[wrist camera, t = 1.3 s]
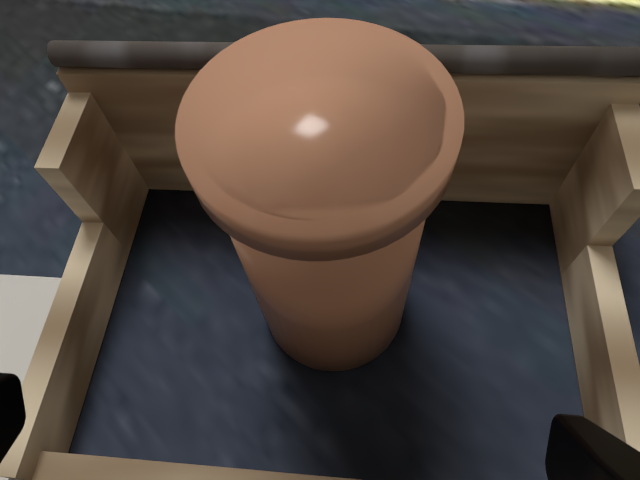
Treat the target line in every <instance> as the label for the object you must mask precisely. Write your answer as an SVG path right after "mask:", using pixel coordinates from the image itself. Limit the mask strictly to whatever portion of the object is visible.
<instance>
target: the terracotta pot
mask: <svg viewBox="0 0 640 480" xmlns="http://www.w3.org/2000/svg"><path fill="white" fill-rule="evenodd" d="M463 133H464V110H463V104H462V99H461V96H460V94H459V91H458V88H457V86H456V84H455V82H454V80H453V79H452V77H451V75H450V74H449V72H448V71H447V70H446V68H445V67H444V66H443V64H442V63H441V62H440V61H439V60H438V59H437V58H436V57H435V56H434V55H433V54H432V53H431V52H429V51H428V50H427V49H425V48H424V47H423V46H421V45H420V44H419V43H417V42H415V41H414V40H412V39H410V38H408V37H407V36H405V35H403V34H400V33H398V32H396V31H394V30H391V29H389V28H385V27H382V26H379V25H376V24H372V23H368V22H363V21H358V20H351V19H341V18H313V19H304V20H296V21H291V22H286V23H282V24H278V25H274V26H271V27H268V28H265V29H262V30H259V31H257V32H255V33H252V34H250V35H248V36H246V37H244V38H242V39H240V40H238V41H236V42H234V43H233V44H231V45H230V46H228V47H227V48H225V49H224V50H222V51H221V52H220V53H218V54H217V55H216V56H215V57H213V58H212V59H211V60H210V61H209V62H208V63H207V64H206V65H205V66H204V67H203V68H202V69H201V70H200V71H199V72H198V74H197V75H196V76H195V78H194V79H193V80H192V82H191V83H190V85H189V87H188V88H187V90H186V92H185V94H184V96H183V98H182V101H181V103H180V106H179V109H178V113H177V118H176V123H175V141H176V148H177V153H178V156H179V159H180V162H181V165H182V167H183V170H184V172H185V174H186V176H187V178H188V180H189V182H190V184H191V186H192V188H193V191H194V193H195V195H196V197H197V199H198V200H199V202H200V204H201V206H202V208H203V209H204V210H205V212H206V213H207V214H208V216H209V217H210V218H211V219H212V220H213V221H214V222H215V223H216V224H217V225H218V226H219V227H220V228H221V229H222V230H223V231H224V232H226V233H227V234H228V235H230V237H231V240H232V242H233V244H234V247H235V249H236V252H237V254H238V256H239V259H240V261H241V263H242V266H243V268H244V270H245V273H246V275H247V277H248V280H249V282H250V285H251V287H252V289H253V292H254V294H255V296H256V299H257V301H258V303H259V306H260V308H261V311H262V313H263V315H264V318H265V320H266V322H267V325H268V327H269V329H270V332H271V334H272V336H273V338H274V339H275V341H276V342H277V344H278V345H279V346H280V348H281V349H282V350H283V351H284V352H285V353H286V354H287V355H289V356H290V357H291V358H292V359H294V360H296V361H297V362H299V363H301V364H303V365H305V366H308V367H310V368H314V369H317V370H323V371H344V370H350V369H354V368H357V367H360V366H362V365H365V364H367V363H368V362H370V361H372V360H374V359H375V358H376V357H378V356H379V355H380V354H381V353H382V352H383V351H384V350H385V349H386V348H387V347H388V346H389V345H390V343H391V342H392V341H393V339H394V337H395V335H396V334H397V332H398V329H399V326H400V323H401V319H402V315H403V311H404V307H405V303H406V299H407V294H408V290H409V286H410V282H411V278H412V274H413V269H414V265H415V261H416V257H417V253H418V249H419V245H420V240H421V236H422V232H423V228H424V224H425V220H426V218H427V217H428V216H429V215H430V214H431V213H432V212H433V210H434V209H435V208H436V206H437V205H438V204H439V203H440V201H441V199H442V198H443V196H444V194H445V192H446V190H447V189H448V186H449V183H450V180H451V178H452V175H453V172H454V168H455V165H456V161H457V158H458V154H459V151H460V147H461V144H462V138H463Z"/></svg>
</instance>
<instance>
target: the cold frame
mask: <svg viewBox="0 0 640 480" xmlns="http://www.w3.org/2000/svg"><path fill="white" fill-rule="evenodd" d="M233 43H234V42H150V41H64V40H52V41H50V42H49V43H48V46H47V54H48V58H49V60H50V62H51V63H52V65H54V66H55V67H59V69H58V71H57V73H56V74H57V76H58V77H59V79H60V80H61V82H62V83H63V85H64V86H65V88H66V89H67V91H68V94H67V96H66V98H65V101H64V103H63V105H62V107H61V109H60V112H59V114H58V116H57V118H56V120H55V123H54V125H53V127H52V129H51V131H50V134H49V136H48V138H47V140H46V142H45V145H44V147H43V149H42V151H41V153H40V156H39V158H38V160H37V162H36V164H35V167H34V168H35V169H36V170H37V171H38V172H39V174H40V175H41V176H42V177H43V178H44V179H45V180H46V181H47V183H48V184H49V185H50V186H51V187H52V188H53V189H54V190H55V192H56V193H57V194H58V195H59V196H60V197H61V198H62V199H63V200H64V202H65V203H66V204H67V205H68V206H69V207H70V208H71V209H72V211H73V212H74V213H75V214H76V215H77V216H78V217H79V218H80V220H81V221H82V225H81V227H80V230H79V233H78V235H77V238H76V241H75V244H74V246H73V249H72V252H71V254H70V257H69V260H68V262H67V265H66V268H65V270H64V273H63V276H62V279H61V281H60V284H59V287H58V289H57V292H56V295H55V297H54V300H53V303H52V306H51V308H50V311H49V314H48V316H47V319H46V322H45V324H44V327H43V330H42V333H41V335H40V338H39V341H38V343H37V346H36V349H35V351H34V354H33V357H32V359H31V362H30V365H29V368H28V370H27V373H26V376H25V378H24V381H23V384H22V386H21V387H22V393H23V399H24V405H25V412H26V420H25V424H24V427H23V429H22V431H21V433H20V434H19V436H18V437H17V439H16V440H15V442H14V443H13V445H12V446H11V448H10V450H9V451H8V453H7V454H6V456H5V457H4V459H3V460H2V462H1V463H0V477H5V478H12V479H20V480H360V479H348V478H337V477H326V476H315V475H304V474H293V473H282V472H271V471H259V470H248V469H237V468H226V467H215V466H204V465H193V464H181V463H170V462H159V461H148V460H137V459H126V458H115V457H104V456H92V455H81V454H70V453H68V452H69V448H70V445H71V442H72V439H73V435H74V432H75V429H76V426H77V422H78V419H79V416H80V412H81V409H82V406H83V403H84V399H85V396H86V393H87V390H88V386H89V383H90V380H91V377H92V373H93V370H94V367H95V364H96V360H97V357H98V354H99V350H100V347H101V344H102V341H103V337H104V334H105V331H106V328H107V324H108V321H109V318H110V315H111V311H112V308H113V305H114V302H115V298H116V295H117V292H118V289H119V285H120V282H121V279H122V275H123V272H124V269H125V266H126V262H127V259H128V256H129V253H130V249H131V246H132V243H133V240H134V236H135V233H136V230H137V227H138V223H139V220H140V217H141V213H142V210H143V207H144V204H145V200H146V197H147V194H148V191H149V189H164V190H190V191H193V188H192V186H191V184H190V182H189V180H188V178H187V176H186V174H185V172H184V170H183V167H182V165H181V162H180V159H179V156H178V153H177V148H176V141H175V123H176V118H177V113H178V109H179V106H180V103H181V101H182V98H183V96H184V94H185V92H186V90H187V88H188V87H189V85H190V83H191V82H192V80H193V79H194V78H195V76H196V75H197V74H198V72H199V71H200V70H201V69H202V68H203V67H204V66H205V65H206V64H207V63H208V62H209V61H210V60H211V59H212V58H213V57H215V56H216V55H217V54H218V53H220V52H221V51H222V50H224V49H225V48H227V47H228V46H230V45H231V44H233ZM421 46H423V47H424V48H425V49H427V50H428V51H429V52H431V53H432V54H433V55H434V56H435V57H436V58H437V59H438V60H439V61H440V62H441V63H442V64H443V66H444V67H445V68H446V70H447V71H448V72H449V74H450V75H451V77H452V79H453V80H454V82H455V84H456V86H457V88H458V91H459V94H460V96H461V99H462V104H463V110H464V133H463V138H462V144H461V147H460V151H459V154H458V158H457V161H456V165H455V168H454V172H453V175H452V178H451V180H450V183H449V186H448V189H447V190H446V192H445V194H444V196H443V198H442V199H441V200H445V201H471V202H496V203H522V204H547V205H549V207H550V213H551V219H552V225H553V231H554V237H555V243H556V249H557V255H558V261H559V267H560V274H561V280H562V286H563V292H564V298H565V304H566V310H567V316H568V322H569V328H570V334H571V340H572V346H573V353H574V359H575V365H576V371H577V377H578V383H579V389H580V395H581V401H582V407H583V413H584V417H585V418H587V419H588V420H590V421H592V422H593V423H595V424H596V425H598V426H599V427H601V428H603V429H604V430H606V431H607V432H609V433H611V434H612V435H614V436H615V437H617V438H619V439H620V440H622V441H623V442H625V443H627V444H628V445H630V446H631V447H633V448H635V449H636V450H638V451H639V452H640V366H639V362H638V357H637V353H636V348H635V344H634V340H633V335H632V331H631V326H630V322H629V318H628V313H627V309H626V304H625V300H624V296H623V291H622V287H621V282H620V278H619V274H618V269H617V265H616V260H615V256H614V252H613V247H612V246H613V245H614V244H615V243H616V242H617V241H618V239H619V238H620V237H621V236H622V235H623V234H624V233H625V232H626V231H627V230H628V229H629V228H630V227H631V226H632V225H633V223H634V222H635V221H636V220H637V219H638V218H639V217H640V107H639V103H640V47H580V46H494V45H421Z"/></svg>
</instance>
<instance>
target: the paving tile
mask: <svg viewBox="0 0 640 480" xmlns="http://www.w3.org/2000/svg"><path fill="white" fill-rule="evenodd" d="M61 279H62V278H52V277H34V276H16V275H0V373H11V374H15V375H17V376H18V377H19V379H20V381H21V386H22V384H23V381H24V378H25V376H26V373H27V370H28V368H29V365H30V362H31V359H32V357H33V354H34V351H35V349H36V346H37V343H38V341H39V338H40V335H41V333H42V330H43V327H44V324H45V322H46V319H47V316H48V314H49V311H50V308H51V306H52V303H53V300H54V297H55V295H56V292H57V289H58V287H59V284H60V281H61ZM0 480H20V479H12V478H5V477H0Z"/></svg>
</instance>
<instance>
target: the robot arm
mask: <svg viewBox="0 0 640 480" xmlns="http://www.w3.org/2000/svg"><path fill="white" fill-rule="evenodd" d="M25 420H26V412H25V405H24V399H23V393H22V387H21V381H20V379H19V377H18V376H17V375H15V374H11V373H0V463H1V462H2V460H3V459H4V457H5V456H6V454H7V453H8V451H9V450H10V448H11V446H12V445H13V443H14V442H15V440H16V439H17V437H18V436H19V434H20V433H21V431H22V429H23V427H24V424H25ZM545 465H546V473H547V477H548V480H640V452H639V451H638V450H636V449H635V448H633V447H631V446H630V445H628V444H627V443H625V442H623V441H622V440H620V439H619V438H617V437H615V436H614V435H612V434H611V433H609V432H607V431H606V430H604V429H603V428H601V427H599V426H598V425H596V424H595V423H593V422H592V421H590V420H588V419H587V418H585V417H583V416H579V415H566V414H557V415H556V416H554V418H553V420H552V423H551V428H550V434H549V440H548V446H547V452H546V459H545Z"/></svg>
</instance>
